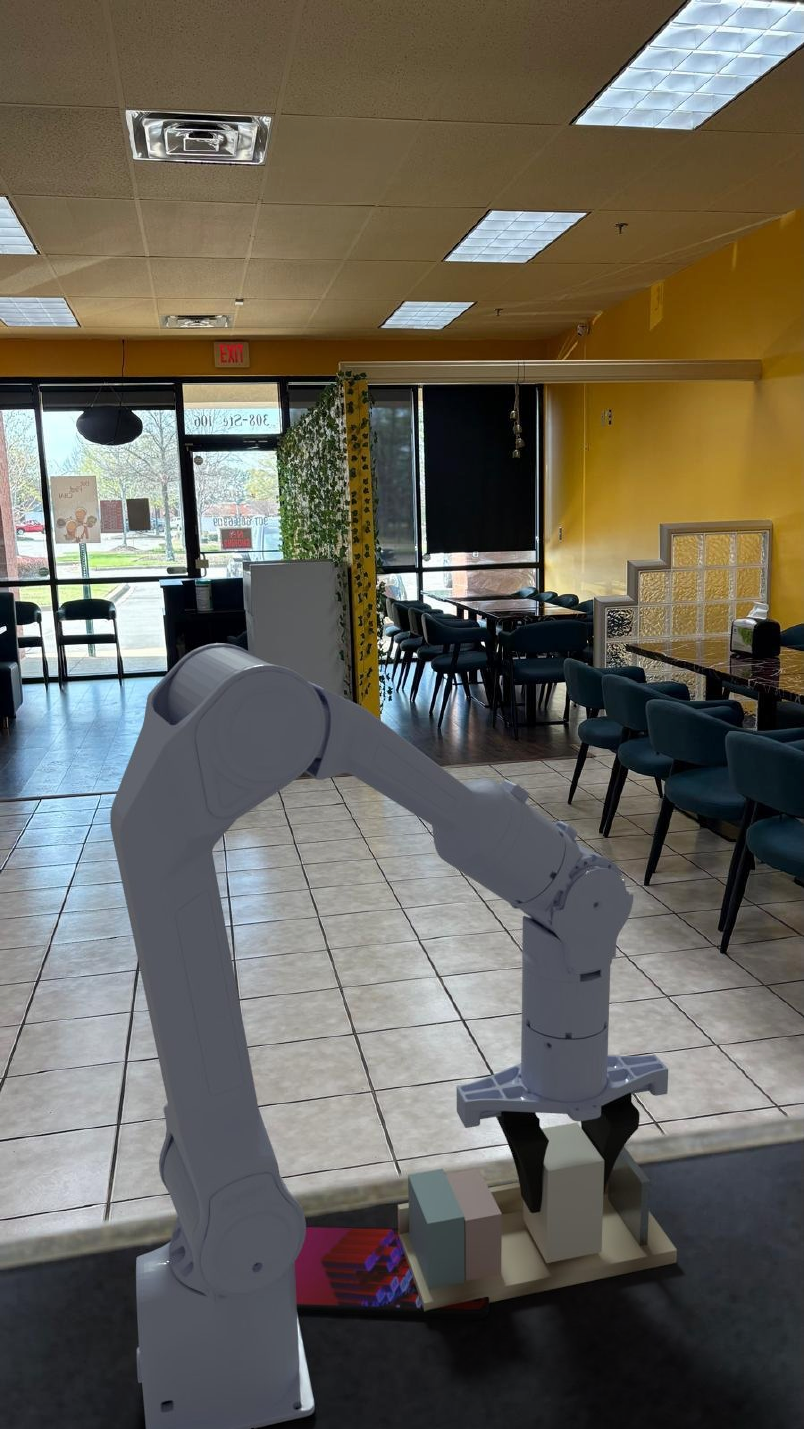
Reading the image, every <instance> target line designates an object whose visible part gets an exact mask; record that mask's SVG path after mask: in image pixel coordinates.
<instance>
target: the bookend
mask: <svg viewBox="0 0 804 1429" xmlns="http://www.w3.org/2000/svg"><path fill="white" fill-rule="evenodd" d="M650 1189H651V1180H650V1179H649V1177H648V1176H647V1175H646V1174H645V1173H644V1171H643V1169H642V1168H641V1167H640V1166H639V1164H638V1163H637V1161H636V1160H635V1159H634V1158H633V1156H632V1155H631V1154H630V1152H629V1151H628V1149H627V1148H626V1147H625V1146H624V1147H623V1148H622V1150H621V1152H620V1154H619V1156H618V1157H617V1160H616V1162H615V1164H614V1166H613V1169H612V1171H611V1174H610V1177H609V1183H608V1200H609V1201H610V1203H611V1204H612V1206H613V1207H614V1209H615V1210H616V1212H617V1213H618V1215H619V1216H620V1218H621V1219H622V1221H623V1222H624V1224H625V1225H626V1227H627V1228H628V1230H629V1231H630V1233H631V1234H632V1236H633V1237H634V1239H635V1240H636V1242H637V1243H638V1245H639V1246H643V1245H647V1244H648V1219H649V1212H650V1191H651V1190H650Z"/></svg>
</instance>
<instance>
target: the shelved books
mask: <svg viewBox="0 0 804 1429" xmlns="http://www.w3.org/2000/svg"><path fill="white" fill-rule="evenodd" d="M407 1180H408V1181H407V1182H408V1183H407V1185H408V1186H407V1187H408V1188H407V1189H408V1192H407V1193H408V1203H409V1238H410V1241H411V1244H412V1247H413V1249H414V1252H415V1255H416V1258H417V1260H418V1263H419V1266H420V1269H421V1271H422V1274H423V1277H424V1280H425V1282H426V1285H427V1288H428V1290H432V1289H436V1288H441V1287H446V1286H451V1285H456V1284H460V1283H465V1281H469V1280H474V1279H479V1278H484V1277H488V1276H493V1275H498V1274H501V1252H502V1213H501V1211H500V1209H499V1207H498V1205H497V1203H496V1201H495V1200H494V1198H493V1196H492V1194H491V1192H490V1190H489V1188H490V1187H489V1186H488V1183H487V1182H486V1180H485V1178H484V1176H483V1174H482V1171H481V1170H480V1168H473V1169H466V1170H461V1171H455V1172H450V1173H446V1172H445V1170H444V1169H443V1168H440V1169H434V1170H429V1171H422V1172H417V1173H413V1174H412V1173H411V1174H408V1175H407Z"/></svg>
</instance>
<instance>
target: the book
mask: <svg viewBox="0 0 804 1429" xmlns="http://www.w3.org/2000/svg"><path fill="white" fill-rule="evenodd" d="M541 1129H542V1130H543V1132H544V1134H545V1135H546V1137H547V1138H548V1140H549V1143H548V1146H547V1149H546V1154H545V1158H544V1164H543V1172H542V1203H541V1209H540V1212H537V1213H531V1212H530V1211H529V1209H528V1207H527V1205H526V1203H525V1202H524V1200H523V1220H524V1222H525V1224H526V1226H527V1227H528V1229H529V1231H530V1233H531V1235H532V1237H533V1239H534V1240H535V1242H536V1244H537V1246H538V1248H539V1250H540V1252H541V1254H542V1255H543V1257H544V1259H545V1261H546V1263H550V1262H555V1261H560V1260H565V1259H569V1258H574V1257H579V1256H584V1255H589V1254H593V1253H598V1252H602V1222H603V1187H604V1160H603V1158H602V1157H601V1155H600V1154H599V1153H598V1151H597V1150H596V1148H595V1147H594V1145H593V1144H592V1143H591V1141H590V1140H589V1138H588V1137H587V1136H586V1134H585V1133H584V1131H583V1130H582V1128H581V1125H580V1124H579V1123H578V1122H571V1123H567V1124H559V1125H554V1126H549V1127H544V1128H542V1127H541Z"/></svg>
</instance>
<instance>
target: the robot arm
mask: <svg viewBox="0 0 804 1429" xmlns="http://www.w3.org/2000/svg"><path fill="white" fill-rule="evenodd" d="M303 773H306V774H307V775H309V776H310V777H312V778H313V779H315V780H316V781H317V780H319V781H320V780H321V781H323V780H326V779H329V778H332V777H336V776H340V775H342V774H346V773H347V774H349V775H352V776H353V777H355V778H356V779H358V780H360V781H361V782H362V783H364V784H366V785H368V786H369V787H370V788H372V789H373V790H375V791H377V792H378V793H380V794H382V795H383V796H385V797H387V798H388V799H389V800H390V801H392V802H395V803H396V804H398V805H399V806H400V807H402V808H404V809H406V811H409V812H410V813H412V814H413V815H415V816H417V817H418V818H420V819H421V820H423V821H425V822H426V823H427V824H429V825H431V828H432V835H433V843H434V847H435V851H436V853H437V855H438V856H439V857H440V859H441V860H442V861H444V862H446V863H447V864H449V865H450V866H451V867H453V868H454V869H456V870H458V871H459V872H461V873H462V874H464V875H466V876H467V877H469V878H470V879H471V880H473V881H475V882H476V883H477V884H479V885H481V886H482V887H484V888H485V889H487V890H489V891H490V892H491V893H493V894H495V895H496V896H498V897H499V898H500V899H502V900H504V901H505V902H507V903H509V905H510V906H511V908H513V909H515V910H518V909H519V910H520V911H522V913H524V916H522V942H521V944H522V946H521V947H522V950H521V952H522V953H521V954H522V958H521V963H522V965H521V967H522V968H521V970H522V972H521V978H522V979H521V1037H520V1038H521V1043H520V1044H521V1045H520V1046H521V1048H520V1050H521V1051H520V1052H521V1053H520V1055H521V1058H520V1059H521V1060H520V1062H519V1063H518V1064H515V1065H513V1066H511V1067H508V1068H506V1069H503V1070H501V1071H499V1072H496V1073H494V1074H491V1075H489V1076H487V1077H484V1078H482V1079H479V1080H476V1081H474V1082H470V1083H465V1084H460V1085H457V1086H456V1113H457V1115H458V1117H459V1119H460V1121H461V1123H462V1124H463V1127H464V1128H465V1129H469V1128H474V1127H475V1128H476V1127H478V1126H480V1125H481V1120H484V1119H485V1120H486V1119H490V1118H496V1120H497V1123H498V1124H499V1127H500V1129H501V1130H502V1132H503V1135H504V1138H505V1140H506V1143H507V1145H508V1147H509V1150H510V1153H511V1157H512V1159H513V1162H514V1165H515V1170H516V1174H517V1178H518V1182H519V1184H520V1190H521V1196H522V1198H523V1200H524V1202H525V1203H526V1205H527V1207H528V1209H529V1211H530V1212H531V1213H537V1212H540V1209H541V1203H542V1172H543V1164H544V1158H545V1154H546V1149H547V1146H548V1143H549V1140H548V1138H547V1137H546V1135H545V1134H544V1132H543V1130H542V1127H541V1125H540V1123H541V1122H540V1121H541V1120H540V1119H541V1118H539V1117H538V1115H537V1114H542V1113H543V1114H557V1115H558V1114H559V1115H561V1114H562V1115H567V1116H568V1117H569V1118H570V1119H571V1120H572V1121H575V1122H580V1127H581V1128H582V1130H583V1131H584V1133H585V1134H586V1136H587V1137H588V1138H589V1140H590V1141H591V1143H592V1144H593V1145H594V1147H595V1148H596V1150H597V1151H598V1153H599V1154H600V1155H601V1157H602V1158H603V1160H604V1187H603V1195H604V1192H605V1189H606V1186H607V1182H608V1180H609V1177H610V1174H611V1171H612V1169H613V1166H614V1164H615V1162H616V1160H617V1157H618V1156H619V1154H620V1152H621V1150H622V1148H623V1147H625V1145H626V1144H627V1142H628V1141H629V1139H630V1138H631V1137H632V1136H633V1134H635V1132H636V1131H637V1130H638V1129H639V1125H640V1116H641V1114H640V1111H639V1110H638V1108H637V1107H636V1106H635V1105H634V1103H633V1102H632V1098H633V1097H632V1095H634V1094H639V1093H640V1094H641V1093H645V1092H649V1094H650V1095H652V1096H654V1097H656V1096H664V1095H667V1094H668V1090H669V1085H668V1084H669V1068H668V1067H667V1066H666V1065H665V1063H664V1062H662V1060H660V1058H659V1057H658V1056H657V1055H656V1054H648V1055H610V1054H609V1027H610V1026H609V1025H610V1024H609V1023H610V995H611V993H610V992H611V990H610V989H611V988H610V987H611V965H612V964H613V963H612V962H613V958H615V957H616V955H617V940H618V938H619V937H618V936H619V935H620V933H621V931H622V929H623V928H624V926H625V924H626V922H627V921H628V919H629V917H630V916H631V915H630V914H631V911H632V909H633V908H632V907H633V904H634V894H633V893H630V892H629V890H627V887H626V881H625V879H623V878H622V876H623V872H622V871H621V869H620V868H619V866H618V865H617V864H616V863H614V862H613V861H612V860H610V859H608V858H606V857H605V856H603V855H601V854H599V853H597V852H595V851H593V850H591V849H588V848H586V847H585V846H584V845H581V844H580V843H577V841H576V838H577V836H578V831H577V830H576V829H575V828H573V827H572V826H570V825H569V824H568V823H565V822H564V821H561V820H557V822H555V823H554V822H552V821H551V820H550V819H548V818H547V817H546V816H544V815H543V814H542V813H540V812H539V811H537V809H535V808H533V807H532V806H531V805H529V804H528V803H526V802H527V801H528V799H529V797H530V792H528V791H527V790H526V789H525V788H523V787H522V786H520V785H519V784H517V783H515V782H513V781H510V780H508V779H504V780H502V783H501V784H500V783H499V782H498V781H497V780H494V779H491V778H479V779H474V780H470V781H466V782H461V781H460V780H458V778H456V777H455V776H454V775H452V774H451V773H449V772H448V771H447V770H445V769H444V768H443V767H442V766H440V765H439V764H438V763H437V762H436V761H434V760H433V759H431V758H430V757H429V756H427V755H426V754H425V753H424V752H423V751H421V750H420V749H419V748H417V747H416V746H415V745H414V744H412V743H411V742H410V741H408V740H407V739H406V738H404V737H403V736H401V735H400V734H399V733H398V732H396V731H395V730H393V729H392V728H391V727H390V726H389V725H387V724H386V723H385V722H383V721H382V720H381V719H379V718H378V717H377V716H375V715H374V714H373V713H371V711H369V710H368V709H366V708H365V707H363V706H362V705H360V704H358V703H355V702H354V701H352V700H350V699H347V698H345V697H344V696H340V695H339V694H337V693H335V692H333V691H330V690H328V689H326V688H324V687H321V686H319V685H317V684H315V683H312V682H310V681H308V680H307V679H306V678H305V677H304V676H302V675H301V674H300V673H298V672H296V671H295V670H292V669H290V668H289V667H285V666H282V665H277V664H272V663H269V662H267V661H264V660H263V659H261V658H258V657H257V656H256V655H254V654H253V653H252V652H250V651H248V650H246V649H245V648H243V647H240V646H237V645H235V644H230V643H221V642H220V643H219V642H216V643H209V644H205V645H202V646H199V647H197V648H195V649H193V650H190V652H187V653H186V654H185V655H184V656H183V657H182V658H181V659H179V660H178V661H177V663H175V665H174V666H173V667H172V668H171V669H170V670H169V672H167V673H166V674H165V676H163V678H161V680H159V682H158V683H157V684H156V685H155V686H154V688H152V689H151V691H150V692H149V693H148V695H147V699H146V704H145V711H144V717H143V722H142V725H141V729H140V731H139V734H138V737H137V740H136V742H135V745H134V747H133V750H132V753H131V755H130V758H129V760H128V763H127V766H126V768H125V770H124V772H123V776H122V778H121V781H120V783H119V786H118V789H117V791H116V795H115V796H114V799H113V802H112V806H111V809H110V815H109V816H110V820H109V821H110V832H111V836H112V840H113V841H112V842H113V845H114V850H115V855H116V860H117V865H118V870H119V874H120V880H121V884H122V889H123V893H124V897H125V903H126V909H127V913H128V914H127V915H128V917H129V922H130V928H131V933H132V936H133V941H134V947H135V952H136V956H137V960H138V965H139V966H138V967H139V971H140V977H141V982H142V985H143V991H144V996H145V1000H146V1004H147V1009H148V1014H149V1019H150V1024H151V1028H152V1029H151V1030H152V1033H153V1039H154V1042H155V1043H154V1044H155V1048H156V1052H157V1058H158V1063H159V1067H160V1073H161V1076H162V1082H163V1086H164V1091H165V1095H166V1102H167V1103H166V1104H165V1105H164V1107H163V1114H164V1118H165V1125H166V1127H165V1128H166V1130H165V1138H164V1141H163V1144H162V1148H161V1150H160V1152H159V1153H160V1154H159V1160H158V1170H159V1176H160V1178H161V1182H162V1183H163V1185H164V1187H165V1188H166V1190H167V1192H168V1194H169V1196H170V1199H171V1202H172V1204H173V1207H174V1210H175V1212H176V1215H177V1217H176V1219H175V1223H174V1227H173V1230H172V1232H171V1233H172V1234H171V1239H170V1241H169V1242H167V1243H166V1244H165V1245H163V1246H161V1247H159V1248H156V1249H154V1250H153V1251H149V1252H147V1253H144V1254H141V1255H138V1256H137V1257H136V1259H135V1260H136V1262H135V1263H136V1266H135V1279H136V1280H135V1285H136V1286H135V1290H136V1292H135V1294H136V1296H135V1297H136V1313H137V1314H136V1315H137V1316H136V1317H137V1335H138V1336H137V1338H138V1347H137V1348H136V1372H137V1381H138V1383H139V1384H141V1383H142V1384H141V1385H142V1386H141V1387H142V1396H143V1398H142V1399H143V1407H144V1408H143V1409H144V1421H145V1429H251V1428H254V1429H257V1428H262V1427H266V1426H269V1425H275V1424H278V1423H283V1422H287V1421H292V1420H297V1419H301V1418H306V1417H308V1416H309V1417H310V1415H312V1414H313V1413H314V1412H315V1399H314V1394H313V1389H312V1384H311V1378H310V1373H309V1368H308V1362H307V1357H306V1351H305V1348H304V1342H303V1335H302V1330H301V1326H300V1321H299V1315H298V1312H297V1304H296V1282H295V1260H296V1258H297V1257H298V1255H299V1253H300V1251H301V1249H302V1246H303V1243H304V1239H305V1234H306V1226H307V1221H306V1217H305V1213H304V1211H303V1208H302V1206H301V1204H300V1202H298V1200H297V1199H296V1198H295V1197H294V1195H293V1194H292V1193H291V1192H290V1190H289V1189H288V1187H287V1184H286V1183H285V1182H284V1179H283V1177H282V1176H281V1174H280V1169H279V1163H278V1160H277V1158H276V1154H275V1152H274V1148H273V1145H272V1142H271V1139H270V1137H269V1133H268V1131H267V1128H266V1126H265V1123H264V1120H263V1118H262V1114H261V1111H260V1109H259V1108H260V1107H259V1105H258V1098H257V1092H256V1086H255V1082H254V1077H253V1071H252V1066H251V1059H250V1054H249V1053H250V1052H249V1048H248V1043H247V1037H246V1033H245V1026H244V1021H243V1014H242V1009H241V1004H240V1000H239V999H240V997H239V993H238V988H237V982H236V976H235V971H234V965H233V960H232V953H231V949H230V944H229V936H228V931H227V926H226V921H225V916H224V910H223V903H222V899H221V893H220V887H219V883H218V877H217V871H216V864H215V861H214V855H213V851H214V850H213V849H214V848H215V845H216V844H217V843H218V842H219V841H220V839H221V838H222V837H223V836H224V835H225V834H226V833H227V831H228V830H229V829H230V828H231V826H232V825H233V824H234V823H235V822H236V821H237V820H238V819H239V818H241V817H243V816H244V815H246V814H247V813H249V812H250V811H251V810H253V809H254V808H256V807H257V806H258V805H260V804H262V803H263V802H265V801H266V800H268V799H269V798H270V797H272V796H273V795H276V794H277V793H278V792H279V791H281V790H283V789H284V788H286V787H287V786H288V785H290V784H291V783H292V782H294V781H295V780H296V779H297V778H299V777H300V776H301V775H302V774H303ZM525 914H526V915H527V916H526V915H525ZM296 1408H298V1409H296Z"/></svg>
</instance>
